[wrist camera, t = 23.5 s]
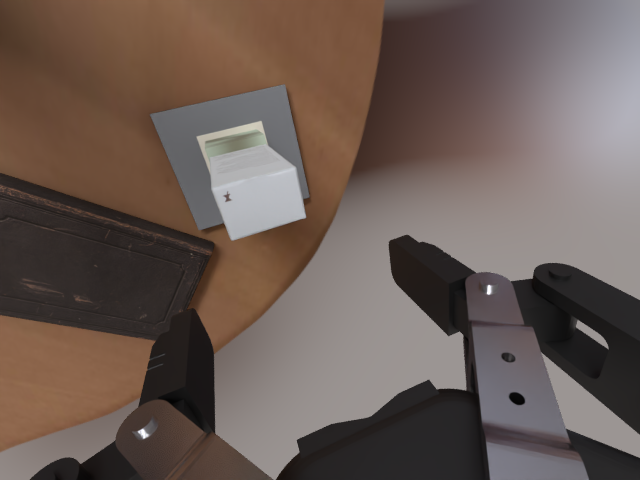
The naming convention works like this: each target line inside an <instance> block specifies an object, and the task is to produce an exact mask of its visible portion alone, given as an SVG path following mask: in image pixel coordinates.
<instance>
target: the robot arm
mask: <svg viewBox="0 0 640 480" xmlns="http://www.w3.org/2000/svg"><path fill="white" fill-rule="evenodd" d="M389 253H390V263H391V272H392V276H393V278H394V280H395V282H396V284H397V285H398V286H399V287H400V288H401V289H402V290H403V291H404V292H405V293H406V294H407V295H408V296H409V297H410V298H411V299H412V300H413V301H414V302H415V303H416V304H417V305H418V306H419V307H420V308H421V309H422V310H423V311H424V312H425V313H426V314H427V315H428V316H429V317H430V318H431V319H432V320H433V321H434V322H435V323H436V324H437V325H438V326H439V327H440V328H441V329H442V330H443V331H444V332H445V333H446V334H447V335H448V336H450V335H452V334H455V333H457V332H459V331H460V332H461V333H462V334H463V336H464V337H463V344H464V360H465V373H466V391H465V390H459V389H438V390H437V389H436V388H435V387H434V386H433V384H432V383H431V382H430V380H427V381H425V382H423V383H421V384H418V385H416V386H414V387H412V388H409V389H407V390H405V391H403V392H401V393H399V394H397V395H396V396H395V397H394V398H393V399H391V400H390V401H389V402H388V403H387V404H386V405H384V406H383V407H382V408H381V409H380V410H378V412H376V413H375V414H374V415H372V416H371V417H368V418H364V419H358V420H352V421H346V422H341V423H335V424H331V425H329V426H326V427H324V428H322V429H320V430H318V431H315V432H313V433H311V434H309V435H306V436H305V437H302V438H300V439H298V440H297V443H298V447H299V451H300V453H299V454H297V455H296V456H295V457H294V458H293V459H292V460H291V461H290V462H289V463H288V464H287V465H286V466H285V468H284V469H283V470H282V471H281V473H280V474H279V476H278V477H277V479H276V480H640V458H638V457H636V456H633V455H631V454H628V453H626V452H623V451H621V450H618V449H616V448H613V447H611V446H608V445H606V444H603V443H601V442H598V441H596V440H593V439H591V438H588V437H585V436H583V435H580V434H578V433H575V432H573V431H570V430H568V429H566V428H565V425H564V422H563V419H562V416H561V412H560V409H559V406H558V403H557V400H556V397H555V394H554V391H553V388H552V385H551V381H550V378H549V375H548V372H547V369H546V366H545V363H544V360H543V357H542V354H541V352H542V353H543V354H544V355H545V356H546V357H548V358H549V359H550V360H551V361H552V362H554V363H555V364H556V365H557V366H558V367H560V368H561V369H562V370H563V371H564V372H566V373H567V374H568V375H569V376H570V377H572V378H573V379H574V380H575V381H576V382H578V383H579V384H580V385H581V386H582V387H584V388H585V389H586V390H587V391H588V392H589V393H591V394H592V395H593V396H594V397H596V398H597V399H598V400H599V401H600V402H602V403H603V404H604V405H605V406H606V407H607V408H609V409H610V410H611V411H612V412H613V413H615V414H616V415H617V416H618V417H619V418H621V419H622V420H623V421H624V422H625V423H627V424H628V425H629V426H630V427H631V428H633V429H634V430H635V431H636V432H637V433H639V434H640V300H638V299H636V298H634V297H633V296H631V295H628V294H626V293H625V292H623V291H621V290H619V289H617V288H615V287H613V286H611V285H609V284H607V283H605V282H603V281H601V280H599V279H597V278H595V277H593V276H591V275H589V274H587V273H585V272H583V271H581V270H579V269H577V268H575V267H572V266H569V265H565V264H560V263H547V264H542V265H539V266H538V267H536V268H535V270H534V274H533V279H526V280H519V281H510V280H508V279H507V278H506V277H504V276H502V275H499V274H495V273H490V272H481V273H476V272H474V271H473V270H471V269H469V268H468V267H467V266H465V265H464V264H462V263H460V262H459V261H457V260H456V259H454V258H451V256H450V255H448V254H447V253H444V252H443V251H442V250H441V249H439V248H438V247H436V246H435V245H432V244H428V243H425V242H420V243H419V242H417V241H416V240H414V239H413V238H412V237H410V236H409V235H404V236H402V237H399V238H396V239H393V240H390V242H389ZM577 320H579V321H581V322H582V323H584V324H585V325H587V326H589V327H590V328H592V329H593V330H595V331H596V332H598V333H599V334H600V335H601V336H602V337H603V338H604V339H605V340H606V342H607V344H608V347H609V350H608V349H607V348H605V347H604V346H602V345H601V344H599V343H598V342H596V341H595V340H594V339H592V338H591V337H589V336H588V335H586V334H585V333H583V332H582V331H580V330H579V329H577V328H576V324H577ZM147 369H148V371H147V372H146V376H145V380H144V385H143V389H142V393H141V398H140V402H139V406H138V408H137V409H136V410H134V411H133V412H132V413H131V414H130V415H129V416H128V417H127V418H126V419H125V420H124V422H123V423H122V425H121V426H120V428H119V430H118V432H117V435H116V440H115V441H114V442H113V443H111V444H110V445H108V446H107V447H106V448H104V449H103V450H101V451H100V452H98V453H97V454H95V455H94V456H92V457H91V458H89V459H88V460H86V461H85V462H83V463H82V464H80V463H79V462H78V461H77V460H76V459H74V458H62V459H59V460H57V461H54V462H52V463H50V464H49V465H47V466H46V467H44V468H43V469H41V470H40V471H39V472H38V473H37V474H35V475H34V476H33V477H32V478H31V479H30V480H273V479H272V478H271V477H269V476H268V475H267V474H265V473H264V472H263V471H262V470H260V469H259V468H258V467H257V466H255V465H254V464H253V463H252V462H250V461H249V460H248V459H247V458H245V457H244V456H243V455H242V454H240V453H239V452H238V451H237V450H235V449H234V448H233V447H231V446H230V445H229V444H228V443H226V442H225V441H224V440H222V439H221V438H220V437H219V436H218V435H216V434H215V395H214V351H213V346H212V343H211V340H210V338H209V336H208V334H207V332H206V330H205V328H204V326H203V324H202V322H201V320H200V318H199V316H198V314H197V312H196V310H195V309H194V308H192V309H189V310H187V311H184V312H181V313H178V314H175V315H173V316H172V317H171V322H170V328H169V331H168V332H165V333H162V334H160V336H159V337H158V339H157V340H156V342H155V343H154V345H153V346H152V350H151V354H150V361H149V363H148V367H147Z"/></svg>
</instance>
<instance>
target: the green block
mask: <svg viewBox="0 0 640 480" xmlns="http://www.w3.org/2000/svg"><path fill="white" fill-rule="evenodd" d="M264 144H267V143H266V139H265V135H264V134H263V133H262V132H260V131H259V130H257V129H255V130H251V131H247V132H242V133H238V134H234V135H230V136H225V137H221V138H217V139H213V140H208V141H205V151H206V154H207V156H208V159H210V157H214V156H218V155H222V154H226V153H230V152H234V151H238V150H243V149H247V148H251V147H255V146H259V145H264ZM209 162H210V161H209Z"/></svg>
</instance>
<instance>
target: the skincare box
mask: <svg viewBox="0 0 640 480" xmlns="http://www.w3.org/2000/svg"><path fill="white" fill-rule="evenodd" d="M209 161H210V175H211V190H212V193H213V195H214V198H215V200H216V203H217V206H218V208H219V211H220V213H221V216H222V219H223V221H224V224H225V227H226V229H227V232H228V234H229V237H230V239H231V240H236V239H240V238H243V237H246V236H250V235H253V234H256V233H259V232H262V231H266V230H269V229H272V228H275V227H278V226H281V225H284V224H288V223H291V222H294V221H297V220H301V219H304V218H306V213H305V208H304V203H303V197H302V192H301V187H300V182H299V177H298V172H297V168H296V167H295V166H294V165H292V164H291V163H290V162H289V161H287V160H286V159H285V158H283V157H282V156H281V155H280V154H278V153H277V152H276V151H275V150H273V149H272V148H271V147H269V146H268V145H267V144H264V145H259V146H255V147H251V148H247V149H243V150H238V151H234V152H230V153H226V154H222V155H218V156H214V157H210V159H209Z"/></svg>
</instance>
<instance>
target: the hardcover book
mask: <svg viewBox="0 0 640 480" xmlns="http://www.w3.org/2000/svg"><path fill="white" fill-rule="evenodd" d="M213 248H214V243H213V242H211V241H208V240H205V239H201V238H198V237H195V236H192V235H189V234H186V233H183V232H180V231H177V230H174V229H171V228H168V227H165V226H162V225H159V224H155V223H152V222H149V221H146V220H143V219H140V218H137V217H134V216H131V215H128V214H125V213H122V212H119V211H116V210H113V209H109V208H106V207H103V206H100V205H97V204H94V203H91V202H88V201H85V200H82V199H79V198H76V197H73V196H70V195H66V194H63V193H60V192H57V191H54V190H51V189H48V188H45V187H42V186H39V185H36V184H33V183H30V182H27V181H24V180H20V179H17V178H14V177H11V176H8V175H5V174H2V173H0V315H4V316H10V317H16V318H22V319H28V320H34V321H40V322H46V323H52V324H58V325H64V326H70V327H76V328H82V329H88V330H94V331H100V332H106V333H112V334H118V335H124V336H130V337H136V338H142V339H148V340H154V341H156V340H157V339H158V337H159V336H160V334H162V333H165V332H168V331H169V328H170V322H171V317H172V316H173V315H175V314H178V313H181V312H184V311H186V310H187V308H188V305H189V303H190V301H191V299H192V296H193V294H194V292H195V290H196V287H197V285H198V283H199V281H200V279H201V276H202V274H203V272H204V270H205V267H206V265H207V263H208V261H209V258H210V256H211V254H212V252H213Z"/></svg>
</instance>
